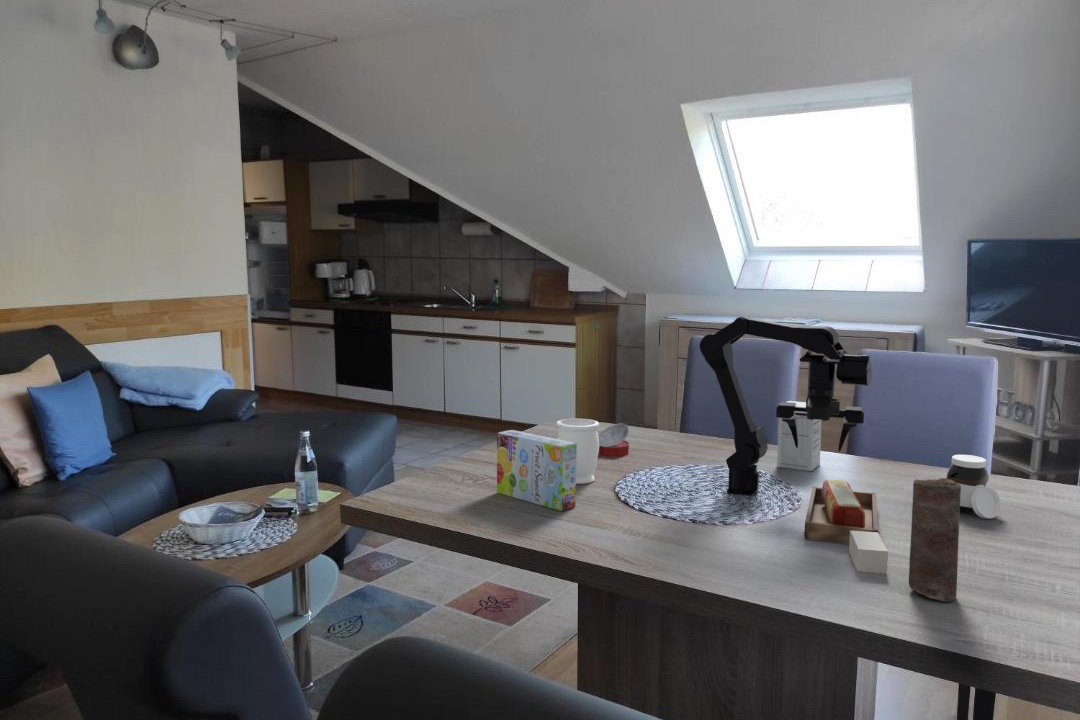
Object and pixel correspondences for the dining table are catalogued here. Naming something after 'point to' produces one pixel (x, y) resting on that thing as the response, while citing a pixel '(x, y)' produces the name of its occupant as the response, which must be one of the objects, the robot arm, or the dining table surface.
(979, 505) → the spread jar
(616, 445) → the canned food
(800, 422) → the supplement box
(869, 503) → the tray
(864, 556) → the small white box
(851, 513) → the snack package
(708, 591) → the dining table surface
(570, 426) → the jar
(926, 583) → the weathered brick
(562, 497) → the snack box
